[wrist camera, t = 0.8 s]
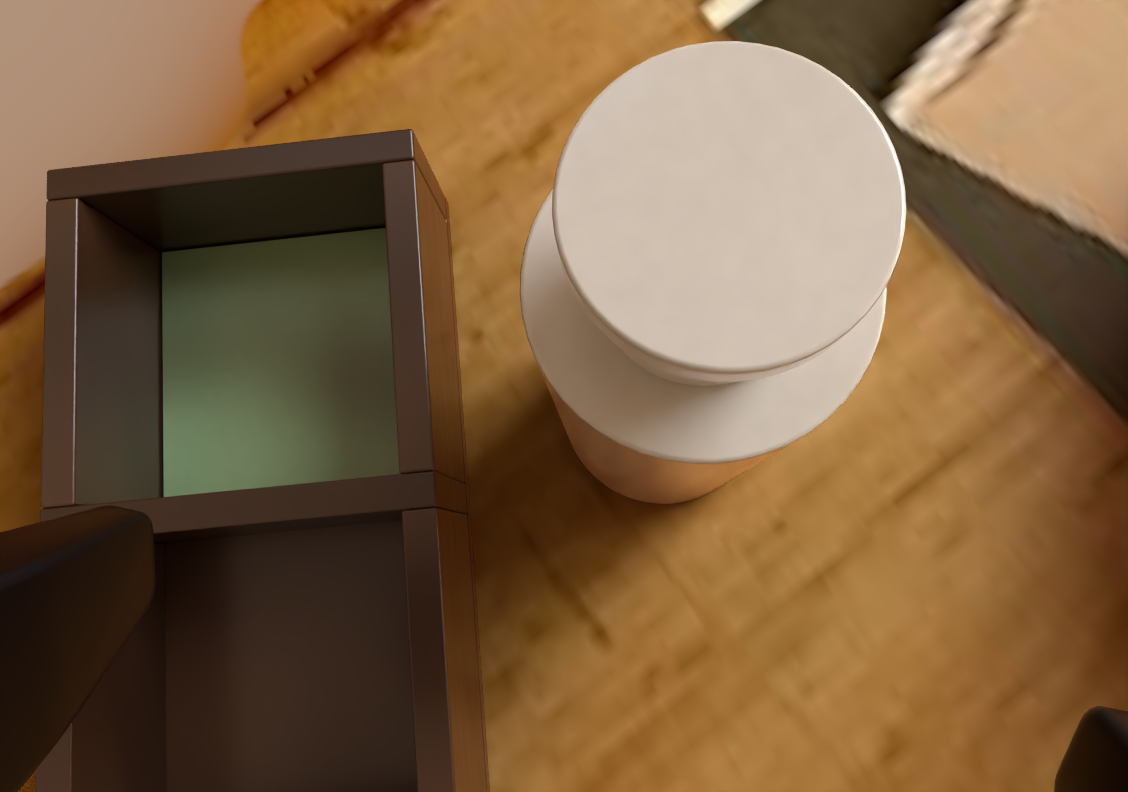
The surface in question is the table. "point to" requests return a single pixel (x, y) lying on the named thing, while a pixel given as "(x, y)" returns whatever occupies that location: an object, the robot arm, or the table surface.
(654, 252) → the white bottle
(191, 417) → the organiser
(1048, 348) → the table surface
